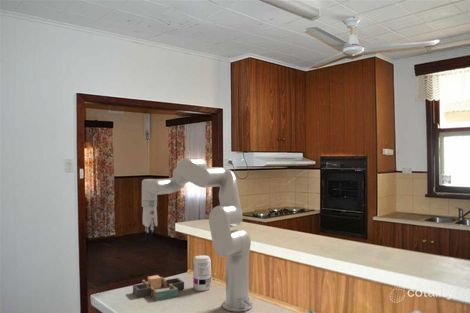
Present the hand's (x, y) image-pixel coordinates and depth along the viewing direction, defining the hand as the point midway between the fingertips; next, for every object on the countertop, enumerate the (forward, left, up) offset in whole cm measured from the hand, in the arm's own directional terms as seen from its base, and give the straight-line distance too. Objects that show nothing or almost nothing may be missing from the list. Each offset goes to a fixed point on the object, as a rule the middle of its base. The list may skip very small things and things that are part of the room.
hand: (149, 240), depth 187 cm
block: (-8, 0, -21) cm, 23 cm away
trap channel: (-14, 0, -21) cm, 26 cm away
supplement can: (-21, -19, -22) cm, 36 cm away
